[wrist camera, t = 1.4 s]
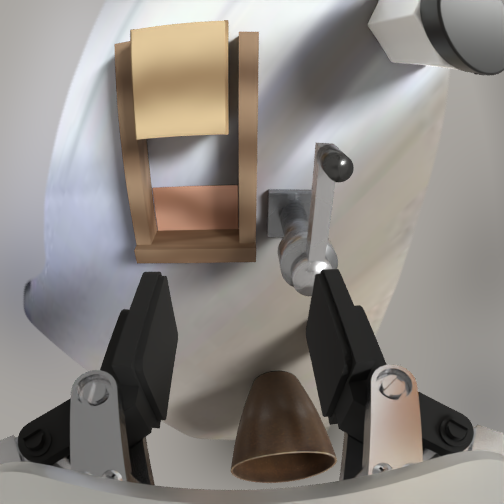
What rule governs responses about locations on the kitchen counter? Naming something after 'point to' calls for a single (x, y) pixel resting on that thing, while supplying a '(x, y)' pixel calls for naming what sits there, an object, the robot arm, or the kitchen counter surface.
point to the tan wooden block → (180, 79)
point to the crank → (320, 215)
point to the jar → (442, 33)
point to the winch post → (292, 227)
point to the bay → (192, 197)
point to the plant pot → (280, 433)
